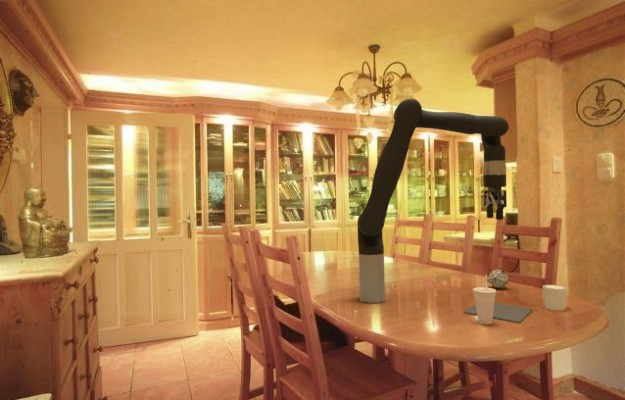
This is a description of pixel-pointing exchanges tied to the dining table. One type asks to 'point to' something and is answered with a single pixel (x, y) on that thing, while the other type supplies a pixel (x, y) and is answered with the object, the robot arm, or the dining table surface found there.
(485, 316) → the smoothie
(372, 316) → the dining table surface
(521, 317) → the mat
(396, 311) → the dining table surface
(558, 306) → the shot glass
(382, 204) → the robot arm
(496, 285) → the game die
